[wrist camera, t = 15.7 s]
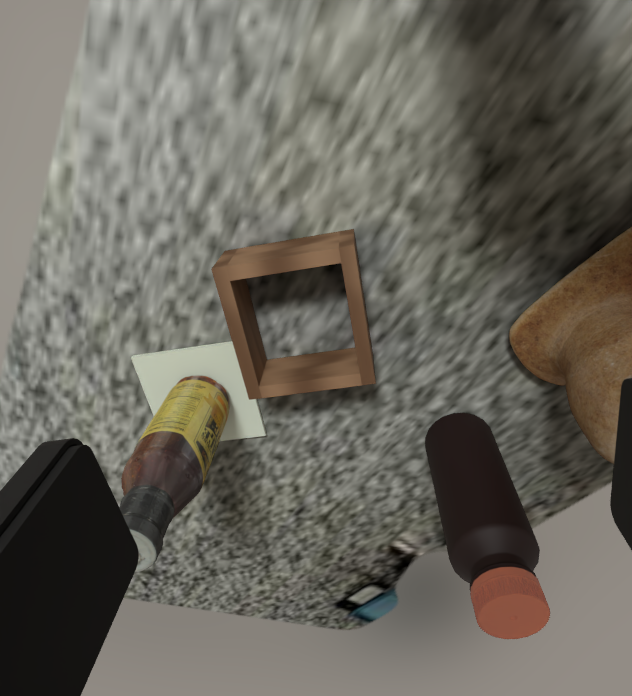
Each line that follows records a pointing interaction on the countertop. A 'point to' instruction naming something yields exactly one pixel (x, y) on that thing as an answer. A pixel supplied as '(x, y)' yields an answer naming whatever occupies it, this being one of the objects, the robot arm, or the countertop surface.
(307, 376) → the frame
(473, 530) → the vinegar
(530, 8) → the countertop surface
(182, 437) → the sauce bottle
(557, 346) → the stone cup
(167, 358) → the sage mat
